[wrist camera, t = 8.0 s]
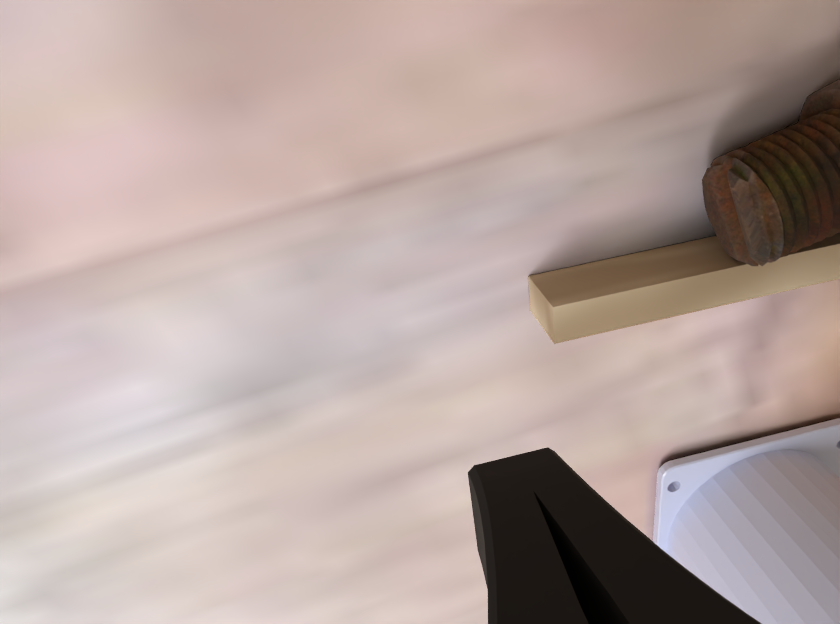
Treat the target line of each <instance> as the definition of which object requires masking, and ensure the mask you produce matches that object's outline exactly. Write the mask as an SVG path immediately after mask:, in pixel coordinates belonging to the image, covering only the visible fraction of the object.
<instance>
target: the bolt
mask: <svg viewBox="0 0 840 624" xmlns="http://www.w3.org/2000/svg"><path fill="white" fill-rule="evenodd" d="M702 183H703V195H704V202H705V208H706V211H707V215H708V218H709V221H710V223H711V225H712V227H713V229H714V231H715V233H716V235H717V237H718V239H719V241H720V243H721V245H722V246H723V248H724V250H725V251H726V252H727V254H728V255H730V256H731V257H733V258H735V259H736V260H738V261H741V262H744V263H746V264H748V265H750V266H758V265H761V266H764V265H765V264H766V263H767V262H769V263H772V262H775V261H776V260H778V259H779V258H781V257H784V256H788V254H789V253H790V252H793V253H795V252H797V251H798V250H799V249H801V248H804V247H808V246H811V245H812V244H813V243H816V242H819V241H823V240H824V239H825V238H826V237H832V236H834V235H835V234H836V233H839V232H840V79H839V80H837V81H835V82H833V83H831V84H830V85H828V86H826V87H824V88H822V89H820V90H818V91H817V92H815V93H813V94H811V95H810V96H808V97H807V99H806V101H805V103H804V105H803V108H802V111H801V115H800V119H799V122H798V123H796V124H795V125H791V126H788V127H786V128H785V129H784V130H780V131H777V132H775V133H773V134H772V135H769V136H766V137H763V138H762V139H761V140H758V141H755V142H752V143H750V144H749V145H748V146H745V147H742V148H739V149H737V150H734V151H731V152H729V153H727V154H726V155H723V156H719V157H717V158H716V159H714V160H713V162H712V164H711V167H710V168H708V169H707V170H706V172H705V175H704V177H703V179H702Z"/></svg>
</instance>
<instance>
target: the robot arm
mask: <svg viewBox="0 0 840 624" xmlns="http://www.w3.org/2000/svg"><path fill="white" fill-rule="evenodd" d="M468 477H469V485H470V493H471V501H472V508H473V516H474V524H475V531H476V539H477V547H478V552H479V556H480V559H481V563H482V567H483V571H484V575H485V580H486V584H487V588H488V624H840V418H837V419H833V420H829V421H825V422H821V423H818V424H814V425H810V426H806V427H802V428H798V429H794V430H790V431H786V432H782V433H778V434H774V435H770V436H766V437H762V438H758V439H754V440H750V441H746V442H742V443H738V444H734V445H730V446H726V447H722V448H718V449H715V450H711V451H707V452H703V453H699V454H695V455H691V456H687V457H683V458H679V459H675V460H671V461H668V462H666V463H664V464H663V465H662V466H661V467H660V468H659V470H658V474H657V488H656V503H655V518H654V532H653V541H651V540H650V539H649V538H648V537H647V536H646V535H644V534H643V533H642V532H641V531H640V530H638V529H637V528H636V527H635V526H634V525H633V524H631V523H630V522H629V521H628V520H627V519H625V518H624V517H623V516H622V515H621V514H620V513H619V512H618V511H616V510H615V509H614V508H613V507H612V506H611V505H610V504H609V503H608V502H606V501H605V500H604V499H603V498H602V497H601V496H600V495H599V494H598V493H597V492H596V491H595V490H593V489H592V488H591V487H590V486H589V485H588V484H587V483H586V482H585V481H584V480H583V479H582V478H581V477H580V476H579V475H578V474H577V473H576V472H575V471H574V470H573V469H572V468H571V467H569V466H568V465H567V464H566V463H565V462H564V461H563V460H562V459H561V458H560V457H559V456H558V454H557V453H556V452H554V451H553V450H551V449H550V448H544V449H540V450H536V451H532V452H527V453H523V454H519V455H515V456H511V457H507V458H503V459H499V460H495V461H491V462H487V463H483V464H478V465H474V466H473V467H472V469H471V470H470V471H469V472H468Z"/></svg>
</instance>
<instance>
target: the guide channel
mask: <svg viewBox="0 0 840 624" xmlns="http://www.w3.org/2000/svg"><path fill="white" fill-rule="evenodd" d="M836 279H840V232H839V233H836V234H835V235H834V236H832V237H826V238H825V239H824V240H823V241H819V242H816V243H813V244H812V245H811V246H808V247H804V248H801V249H799V250H798V251H797V252H795V253H793V252H790V253H789V254H788V256H784V257H781V258H779V259H778V260H776V261H775V262H772V263H769V262H767V263H766V264H765V265H764V266H761V265H758V266H750V265H748V264H746V263H744V262H741V261H738V260H736V259H735V258H733V257H731V256H730V255H728V254H727V252H726V251H725V250H724V248H723V246H722V245H721V243H720V241H719V239H718V237H717V236H713V237H708V238H703V239H699V240H694V241H689V242H685V243H680V244H675V245H671V246H666V247H662V248H657V249H652V250H648V251H643V252H638V253H634V254H629V255H624V256H620V257H615V258H610V259H606V260H601V261H596V262H592V263H587V264H583V265H578V266H573V267H569V268H564V269H559V270H555V271H550V272H545V273H541V274H536V275H531V276H528V280H529V298H530V311H531V312H532V314H533V315H534V316H535V318H536V319H537V321H538V322H539V323H540V325H541V326H542V327H543V329H544V330H545V332H546V333H547V334H548V336H549V337H550V338H551V340H552V341H553V343H554V344H555V343H560V342H564V341H569V340H573V339H577V338H582V337H586V336H591V335H595V334H599V333H604V332H608V331H612V330H617V329H621V328H626V327H630V326H634V325H639V324H643V323H648V322H652V321H656V320H661V319H665V318H670V317H674V316H678V315H683V314H687V313H692V312H696V311H700V310H705V309H709V308H714V307H718V306H722V305H727V304H731V303H735V302H740V301H744V300H749V299H753V298H757V297H762V296H766V295H771V294H775V293H779V292H784V291H788V290H793V289H797V288H801V287H806V286H810V285H815V284H819V283H823V282H828V281H832V280H836Z"/></svg>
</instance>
